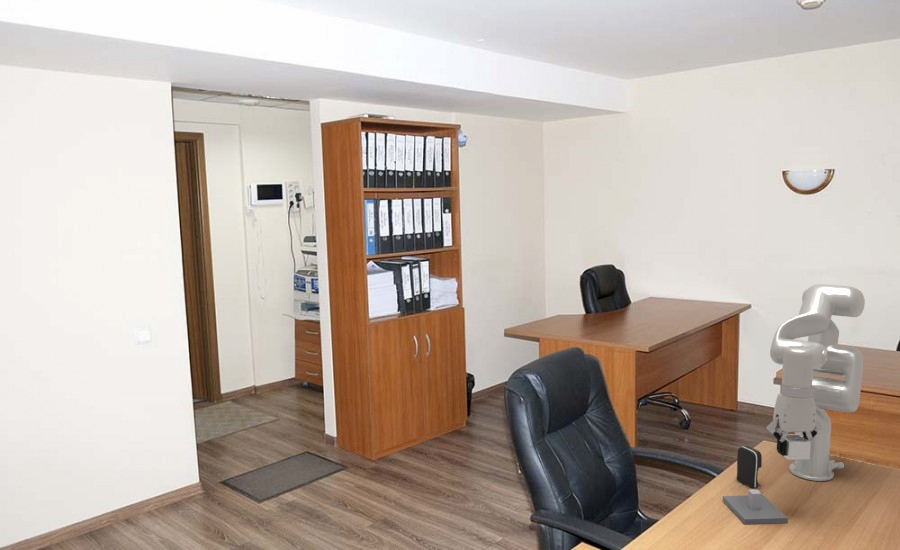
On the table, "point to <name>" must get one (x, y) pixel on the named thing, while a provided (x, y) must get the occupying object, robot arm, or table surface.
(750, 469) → the battery charger
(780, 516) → the stand
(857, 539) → the table surface
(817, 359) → the robot arm
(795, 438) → the collar
